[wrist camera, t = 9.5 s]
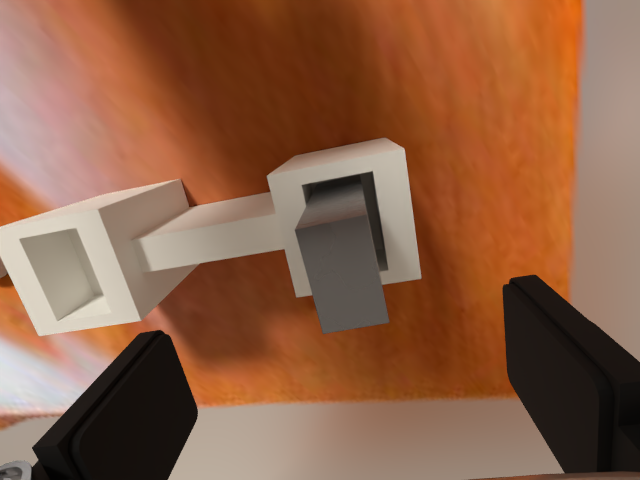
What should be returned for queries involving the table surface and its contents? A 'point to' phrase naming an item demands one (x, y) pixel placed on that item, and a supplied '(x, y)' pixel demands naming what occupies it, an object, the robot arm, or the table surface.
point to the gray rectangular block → (341, 257)
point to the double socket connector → (193, 237)
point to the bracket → (2, 269)
